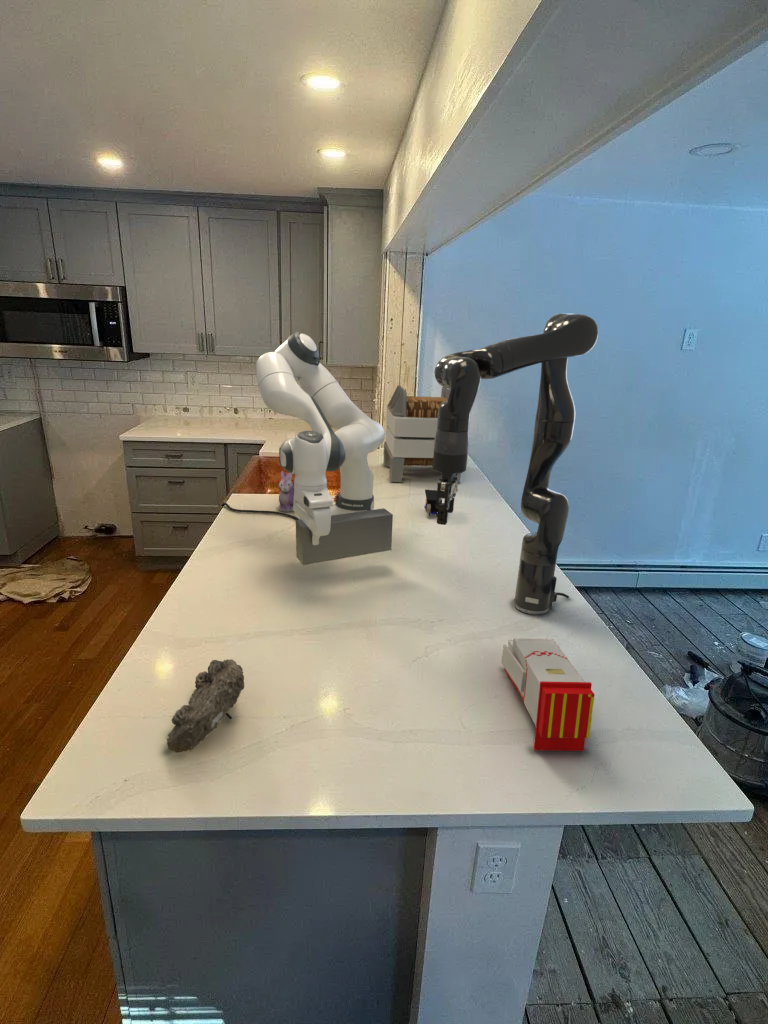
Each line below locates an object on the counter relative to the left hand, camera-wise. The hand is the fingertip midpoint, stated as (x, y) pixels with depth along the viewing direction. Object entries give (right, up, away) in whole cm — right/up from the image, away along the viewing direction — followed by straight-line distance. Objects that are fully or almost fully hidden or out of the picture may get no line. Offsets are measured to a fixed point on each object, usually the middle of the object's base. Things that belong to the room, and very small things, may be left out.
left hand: (310, 539), depth 158 cm
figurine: (-16, +9, +62) cm, 64 cm away
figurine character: (+39, +7, +64) cm, 76 cm away
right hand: (+35, +6, -27) cm, 44 cm away
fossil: (-12, -31, -50) cm, 60 cm away
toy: (+52, -31, -42) cm, 74 cm away
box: (+9, -4, +7) cm, 12 cm away
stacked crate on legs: (+38, +26, +117) cm, 126 cm away
